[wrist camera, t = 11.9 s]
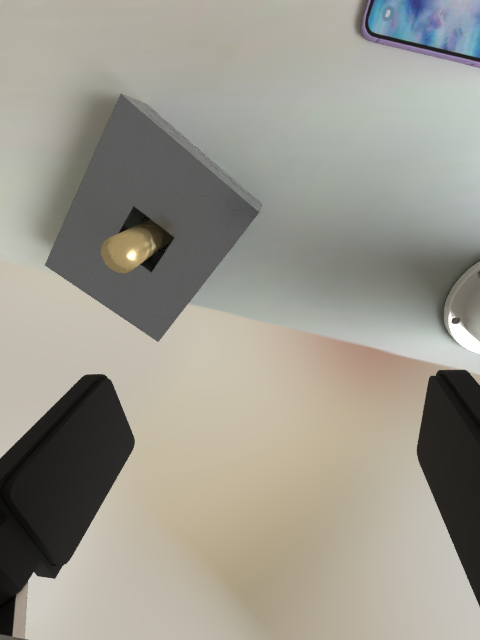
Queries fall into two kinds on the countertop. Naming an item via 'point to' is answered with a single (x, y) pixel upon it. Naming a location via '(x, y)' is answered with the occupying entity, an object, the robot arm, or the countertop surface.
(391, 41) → the smartphone
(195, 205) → the block
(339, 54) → the countertop surface
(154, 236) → the brass pin
